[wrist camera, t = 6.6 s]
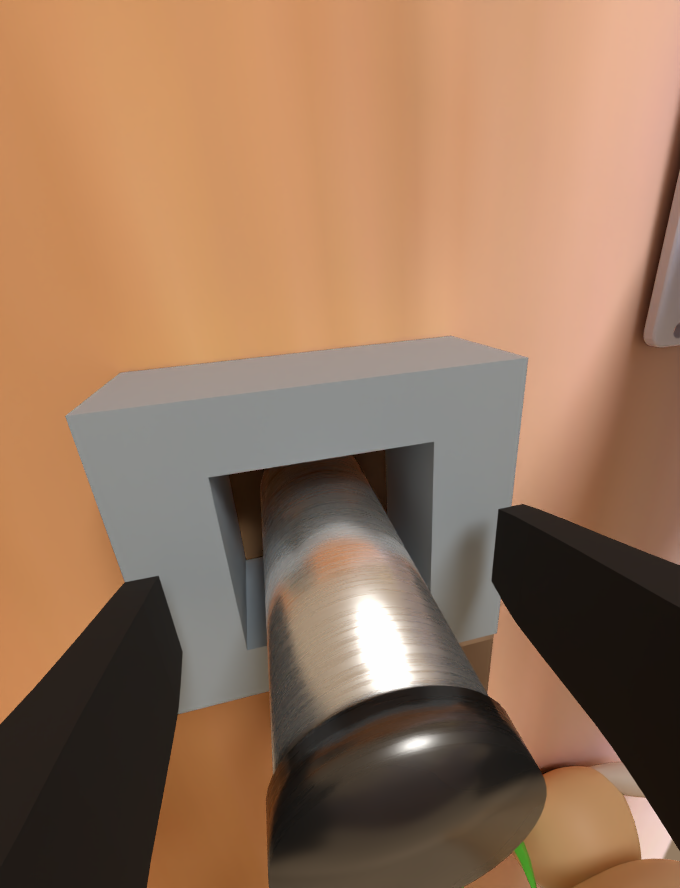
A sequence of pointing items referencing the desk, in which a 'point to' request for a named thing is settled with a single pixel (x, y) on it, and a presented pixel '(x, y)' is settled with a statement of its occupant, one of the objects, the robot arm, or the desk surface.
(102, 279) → the desk surface
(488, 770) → the pin
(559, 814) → the kitten
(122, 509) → the dock
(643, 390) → the desk surface
